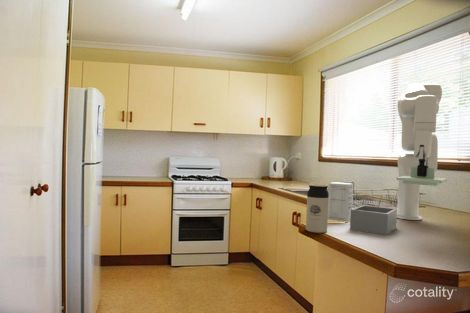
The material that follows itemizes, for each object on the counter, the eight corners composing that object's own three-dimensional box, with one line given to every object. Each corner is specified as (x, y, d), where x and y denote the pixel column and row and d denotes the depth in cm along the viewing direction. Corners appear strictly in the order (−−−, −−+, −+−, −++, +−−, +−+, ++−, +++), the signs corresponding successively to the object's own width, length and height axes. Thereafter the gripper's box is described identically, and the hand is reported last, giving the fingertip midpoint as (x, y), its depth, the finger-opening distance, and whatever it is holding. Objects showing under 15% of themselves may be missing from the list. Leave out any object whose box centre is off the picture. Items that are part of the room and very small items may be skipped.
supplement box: (352, 219, 175) (354, 183, 175) (347, 222, 168) (349, 184, 167) (332, 216, 180) (333, 181, 180) (326, 219, 172) (328, 182, 172)
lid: (405, 181, 156) (406, 166, 156) (446, 184, 148) (447, 168, 148) (396, 183, 140) (397, 166, 140) (441, 186, 132) (442, 169, 132)
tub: (362, 223, 165) (363, 205, 165) (396, 228, 158) (397, 209, 157) (349, 229, 150) (350, 209, 150) (386, 234, 143) (387, 213, 142)
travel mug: (311, 228, 150) (313, 183, 150) (330, 231, 145) (332, 184, 145) (302, 230, 144) (304, 183, 144) (321, 234, 139) (323, 185, 139)
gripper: (417, 129, 153) (414, 175, 153) (410, 126, 139) (408, 176, 140) (437, 129, 149) (435, 176, 149) (433, 126, 135) (430, 177, 135)
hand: (422, 175), depth 144 cm, fingers closed on lid, 2 cm apart
